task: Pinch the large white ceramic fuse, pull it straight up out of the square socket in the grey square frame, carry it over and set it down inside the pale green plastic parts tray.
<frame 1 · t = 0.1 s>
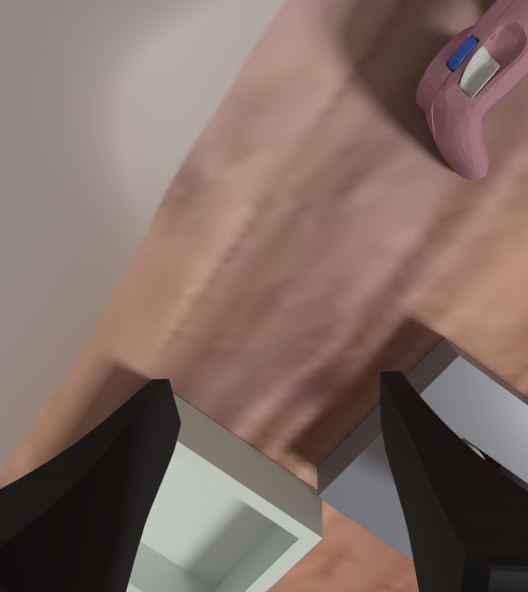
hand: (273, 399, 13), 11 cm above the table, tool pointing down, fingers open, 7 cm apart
grey square frame: (451, 460, 25), on the table
video game controller: (506, 70, 19), on the table
parts tray: (194, 499, 28), on the table
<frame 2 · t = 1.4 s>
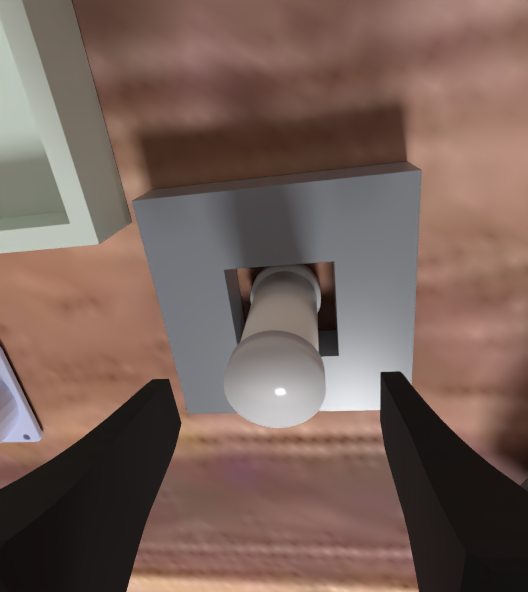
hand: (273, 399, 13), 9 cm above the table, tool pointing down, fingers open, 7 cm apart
grey square frame: (286, 291, 21), on the table
fuse: (281, 330, 17), in the grey square frame
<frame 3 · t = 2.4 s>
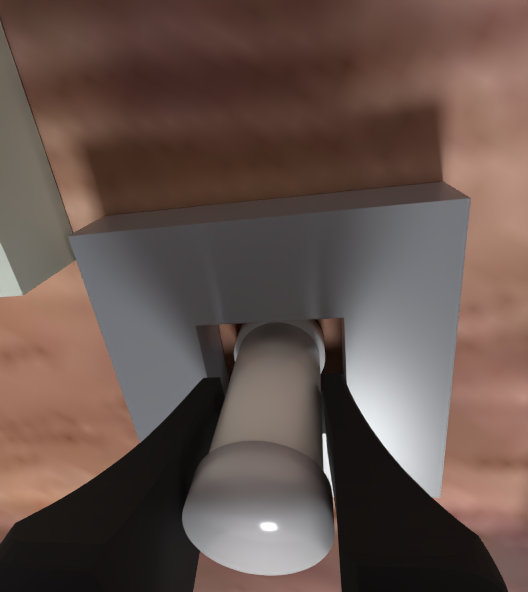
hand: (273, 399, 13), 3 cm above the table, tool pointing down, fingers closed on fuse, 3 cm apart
grey square frame: (280, 344, 16), on the table
fuse: (272, 410, 13), in the grey square frame, touching gripper
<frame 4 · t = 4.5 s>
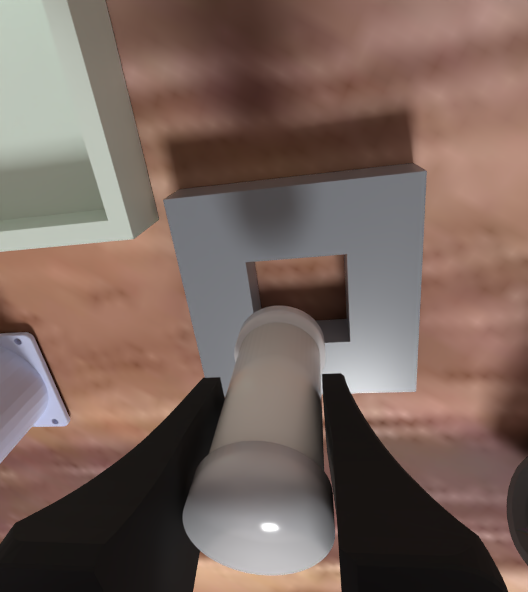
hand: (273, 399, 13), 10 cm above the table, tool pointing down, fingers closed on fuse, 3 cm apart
grey square frame: (300, 283, 23), on the table
parts tray: (8, 107, 20), on the table
fuse: (272, 410, 13), point 11 cm above the table, touching gripper
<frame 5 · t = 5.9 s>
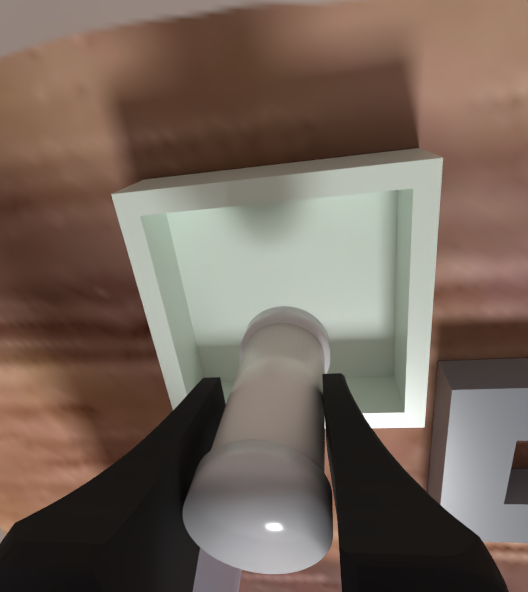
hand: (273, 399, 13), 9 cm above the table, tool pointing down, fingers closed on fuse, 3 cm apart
parts tray: (287, 290, 21), on the table
fuse: (275, 410, 13), point 9 cm above the table, touching gripper
when the fingers open (6 cm above the table, at t = 6.7 s): fuse drops 2 cm, resting on parts tray.
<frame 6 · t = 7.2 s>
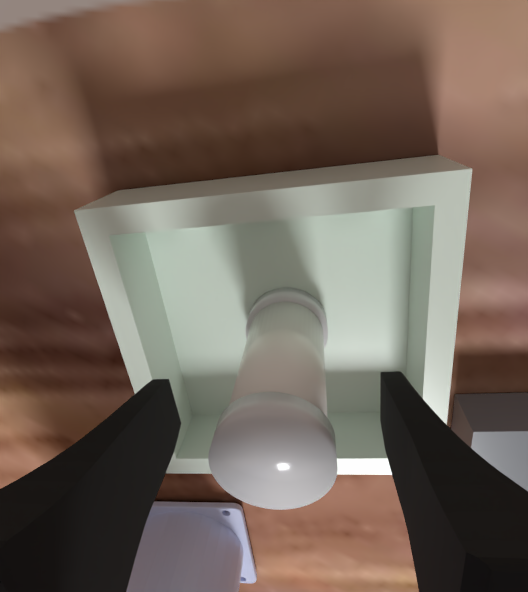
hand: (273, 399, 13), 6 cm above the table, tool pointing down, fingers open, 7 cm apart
parts tray: (284, 315, 19), on the table
fuse: (281, 376, 15), in the parts tray, point 5 cm above the table
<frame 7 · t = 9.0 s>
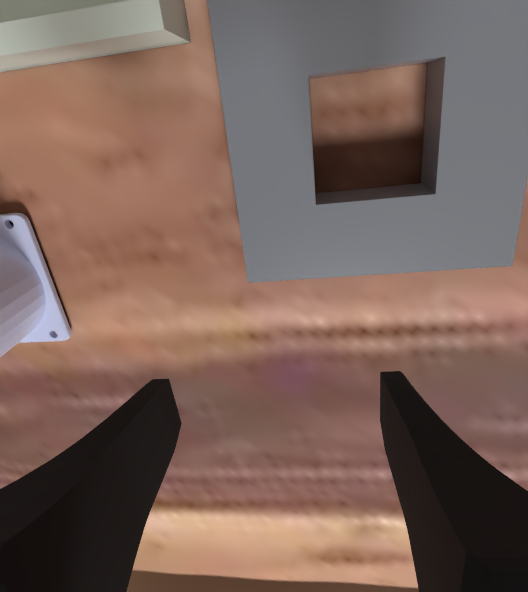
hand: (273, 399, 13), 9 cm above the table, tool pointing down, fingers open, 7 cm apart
grey square frame: (366, 133, 18), on the table
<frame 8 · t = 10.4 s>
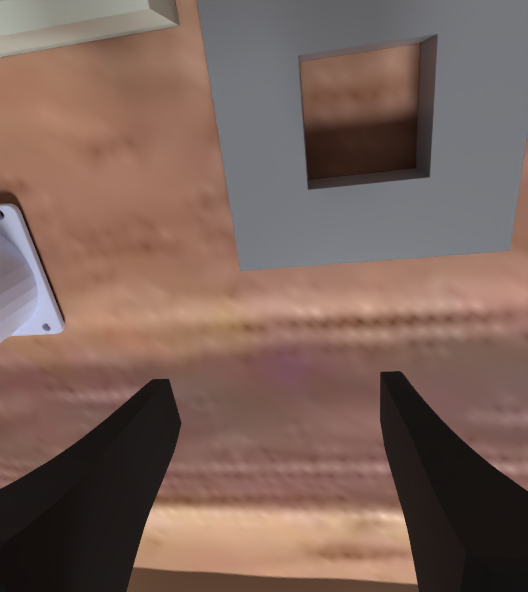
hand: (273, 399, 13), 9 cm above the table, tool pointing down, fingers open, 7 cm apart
grey square frame: (359, 117, 18), on the table
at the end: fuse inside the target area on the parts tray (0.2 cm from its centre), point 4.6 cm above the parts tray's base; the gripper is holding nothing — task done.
